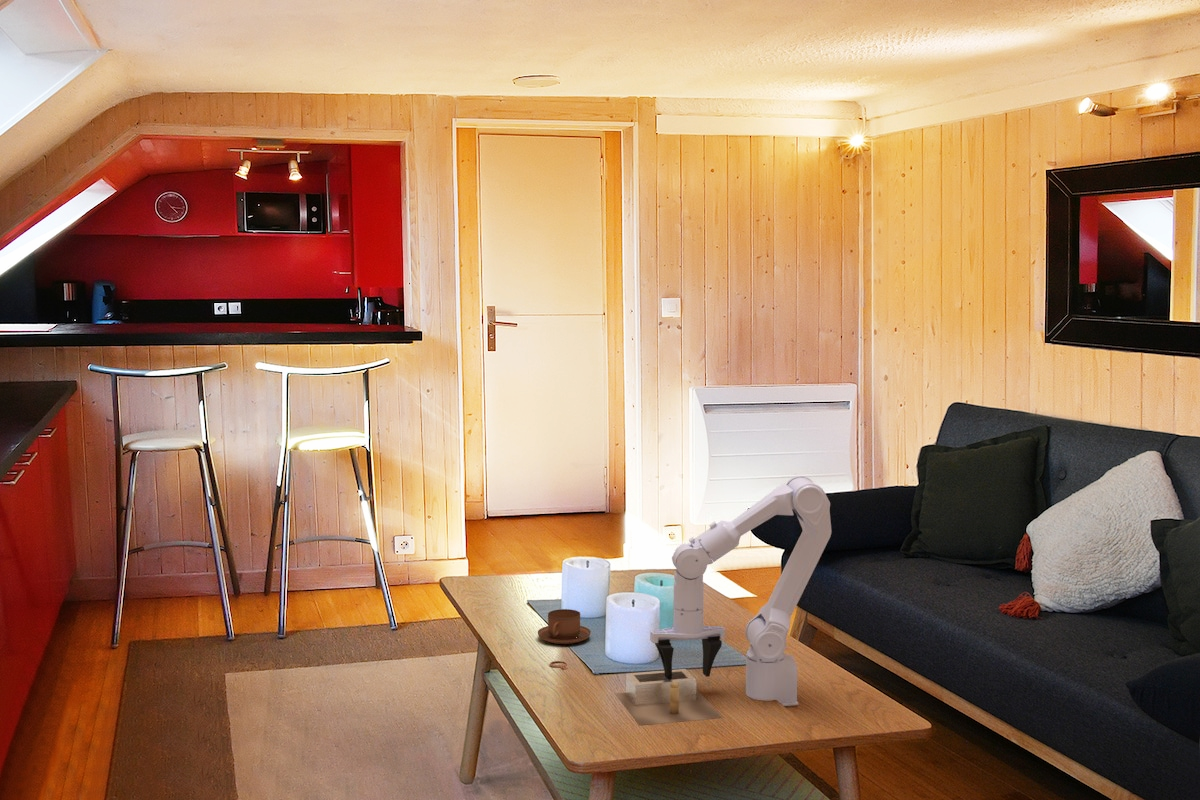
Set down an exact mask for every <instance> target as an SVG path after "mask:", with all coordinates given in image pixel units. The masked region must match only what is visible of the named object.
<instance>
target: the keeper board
mask: <svg viewBox="0 0 1200 800" xmlns="http://www.w3.org/2000/svg"><path fill="white" fill-rule="evenodd" d="M614 694H615V696H616V697H617V698H618V700H619V701H620V702H621V703H622V705H623V706H624V708H625V709H626V711H627V712H628V713H629V714H630V715H631V716H632V718H633V719H634V721H635V722H636V723H637V725H638V726H639V727H640V726H652V725H659V724H661V725H663V724H671V723H673V724H674V723H685V722H693V721H694V722H695V721H705V720H706V721H707V720H715V719H724V717H723V715H722V714H721V713H720V712H719V711H718V710H717V709H716V708H715V707H714V706H713V705H712V704H711V703H710V702H709V700H708V699H706V697H704V696H703V695H702V694H701V692H699V690H698V689H696V700H694V701H683V702H679V685H678V683H677V682H672V683H671V685H670V703H660V704H649V705H638V706H635V705H634V703H633V702H632V701H631V700H630V698H629V697H628V696H627V694H626V692H615V693H614Z"/></svg>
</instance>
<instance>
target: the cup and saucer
mask: <svg viewBox="0 0 1200 800" xmlns="http://www.w3.org/2000/svg"><path fill="white" fill-rule="evenodd" d="M591 632H592V631H591V629H589V628H588V627H585V626H582V625H581V612H580V611H578V610H576V609H567V608H565V609H563V608H561V609H554V610H550V611H549V612H548V613H547V626H544V627H542V628H541V627H540V629H538V631H537V635H538V637H539V638H540V639H541V640H543V641H545V642H547V643H550V644H551V643H552V644H557V645H569V644H571V645H572V644H576V643H580V642H583V641H585V640H587V639H588V638H589V637H590V635H591ZM576 637H577V638H576Z"/></svg>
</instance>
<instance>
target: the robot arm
mask: <svg viewBox="0 0 1200 800" xmlns="http://www.w3.org/2000/svg"><path fill="white" fill-rule="evenodd" d="M830 507H831V502H830V500H829V498H828V496H827V494H826V492H825V490H824V489H823V487H821V486H820V485H818V484H816V483H814V482H813V481H812V480H811V479H810V478H808V477H806V476H803V475H802V476H801V475H798V476H794V477H792V478H790V479H789V480H788V481H787V482H785V483H781V484H780V485H778V486H776V488H774V489H773V490H772V491H771V492H769V493H768V494H766V495H765V496H764V497H762V498H760V500H759V501H757V502H756V503H754V504H753V505H752V506H750V507H749V508H748V509H746V510H745V511H744V512H742V513H741V514H739V515H738V516H736V518H734V519H733V520H731V521H726V520H720V521H719V522H716V521H713V522H711V523H710V524H709V525H708V526H709V527H710V528H709V529H707V530H705V531H704V532H702V533H700V534H699V535H698V536H697V537H695V538H694V536H693V537H690V538H689V539H688V541H689V542H688V543H686V542H685V543H682V544H680V545H678V547H677V546H676V549H675V550H674V552H673V555H672V556H671V561H672V564H673V566H674V567H675V568H676V569H675V570H674V575H673V576H674V577H673V579H674V582H673V618H672V619H673V623H672V627H671V626H670V627H666V628H661V629H655V630H650V632H649V633H650V634H649V635H650V642H651V643H652V644H655V647H656V650H657V651H658V654H659V657H660V659H661V662H662V666H663V671H664V672H665V677H666V678H667V679H668V680H670V679H672V670H673V656H674V646H672V643H671V642H677V641H689V640H690V641H691V640H693V641H694V640H701V644H702V674H703V675H704V676H705V677H706V678H709V677H710V676H711V671H712V667H713V664H714V661H715V658H716V657H717V655H718V653H719V651H720V649H722V644H723V641H722V640H721V639H723V640H724V639H726V628H725V627H724V626H722V625H718V626H717V625H712V626H711V625H704V598H705V597H704V595H705V594H704V593H705V589H704V587H705V584H704V574H705V572H706V571H707V568H708V566H709V565H712V564H714V562H717V561H718V560H719V559H720V558H722V557H724V556H725V555H727V554H728V553H730V552H731V551H733V550H735V548H737V547H738V546H739V544H740V540H741V536H743V535H746V534H747V533H748V532H750V531H751V530H753V529H755V528H757V527H758V526H760V525H762V524H763V523H765V522H767V521H769V520H771V519H772V518H773V517H774V516H777V515H778V516H794V513H795V514H796V517H797V519H798V521H799V525H800V527H801V529H802V530H801V531H802V532H801V534H800V536H799V537H798V540H797V541H796V543H795V546H794V548H793V550H792V551H791V553H790V556H789V558H788V560H787V562H786V564H785V565H784V568H783V569H782V573H781V574H780V576H779V578H778V580H777V582H776V584H775V586H774V588H773V591H772V593H771V594H770V597H769V598H768V601H767V602H766V603H765V604H764V605H763V606H761V607H760V608H759V611H758V613H757V614H756V615H754V617H753V618H751V619H750V620H749V622H748V623H747V624H746V627H745V632H744V633H745V638H746V639H747V642H749V644H750V645H749V648H748V650H747V651H746V655H745V656H746V657H745V660H746V661H745V695H746V696H747V697H749V698H750V699H753V700H758V701H763V702H764V701H769V702H770V701H777V702H778V703H780V705H782V706H783V707H792V706H798V705H799V702H798V665H797V662H796V660H795V659H796V658H794V656H793V655H792V654H789V653H788V654H787V653H785V651H786V649H787V648H786V647H787V637H788V634H789V632H790V628H791V618H792V615H793V613H794V611H795V609H796V607H797V605H798V603H799V601H800V599H801V598H802V595H803V593H804V590H805V589H806V586H807V585H808V583H809V580H810V579H811V576H812V575H813V573H814V571H815V568H816V567H817V564H818V563H819V561H820V558H821V557H822V554H823V553H824V550H825V549H826V546H827V544H828V542H829V541H830V539H831V537H832V536H831V535H832V523H831V513H830V512H831V511H830V509H831V508H830Z"/></svg>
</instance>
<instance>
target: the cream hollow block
mask: <svg viewBox="0 0 1200 800" xmlns="http://www.w3.org/2000/svg"><path fill="white" fill-rule="evenodd" d="M672 682H677V683H678V685H679V702H683V701H694V700H696V690H697V679H696V678H695V677H694V676H693V674H691V673H690V672H689V671H688V670H687V669H686V668H681V669H680V668H679V669H672V679H670V680H668V679H667V678H666V677H665V672H664V670H654V671H643V672H632V673H631V672H630V673H625V693H626V694H627V696H628V697H629V698H630V700H631V701H632V702H633V703H634V705H635V706H638V705H649V704H660V703H670V685H671V683H672Z"/></svg>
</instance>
